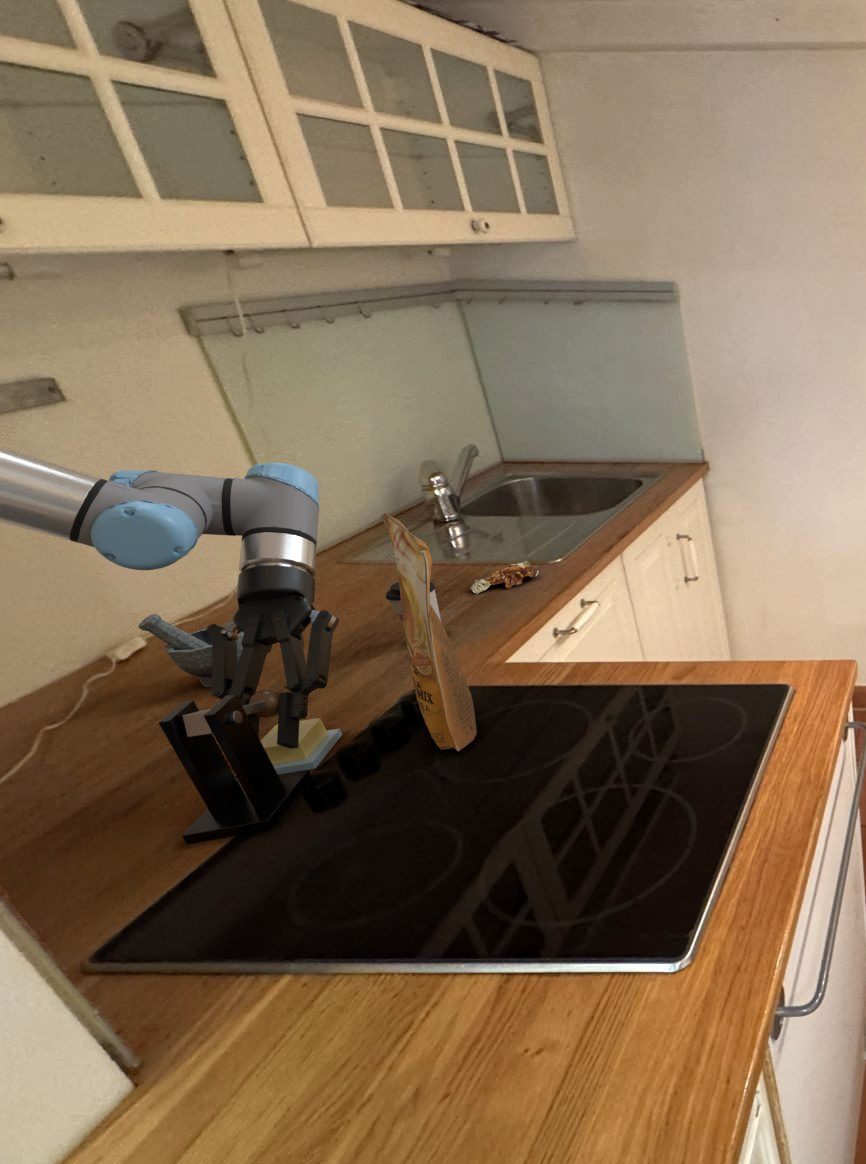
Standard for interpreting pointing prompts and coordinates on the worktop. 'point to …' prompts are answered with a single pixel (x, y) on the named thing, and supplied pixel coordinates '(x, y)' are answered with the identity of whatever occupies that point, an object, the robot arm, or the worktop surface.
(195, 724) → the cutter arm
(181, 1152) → the worktop surface
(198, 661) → the mortar and pestle
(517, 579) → the pastry
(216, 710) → the lever base
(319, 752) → the butter dish
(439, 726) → the pancake mix bag
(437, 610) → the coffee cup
